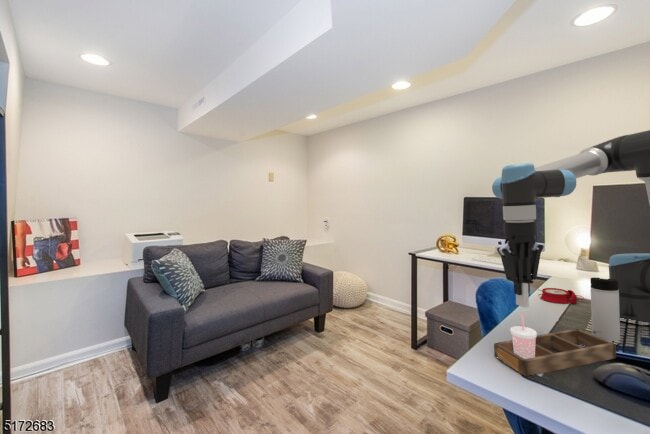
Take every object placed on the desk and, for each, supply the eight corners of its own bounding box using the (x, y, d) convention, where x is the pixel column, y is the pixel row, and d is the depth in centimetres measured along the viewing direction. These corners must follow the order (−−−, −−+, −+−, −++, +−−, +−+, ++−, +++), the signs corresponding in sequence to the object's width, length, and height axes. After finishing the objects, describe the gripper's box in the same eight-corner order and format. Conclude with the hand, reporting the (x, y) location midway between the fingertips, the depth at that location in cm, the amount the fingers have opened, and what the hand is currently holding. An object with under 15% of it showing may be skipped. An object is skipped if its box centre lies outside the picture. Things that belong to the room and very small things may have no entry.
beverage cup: (512, 354, 86) (510, 307, 85) (538, 359, 82) (536, 311, 81) (510, 364, 81) (508, 315, 80) (538, 370, 77) (536, 318, 76)
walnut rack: (576, 341, 91) (576, 328, 91) (616, 358, 80) (615, 344, 80) (493, 356, 85) (492, 343, 85) (523, 377, 75) (523, 362, 75)
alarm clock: (536, 287, 133) (577, 282, 126) (540, 300, 133) (582, 296, 125) (538, 293, 125) (583, 289, 117) (543, 308, 124) (588, 304, 116)
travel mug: (592, 342, 89) (590, 278, 88) (592, 334, 94) (590, 273, 93) (621, 348, 85) (619, 281, 84) (619, 339, 90) (617, 276, 89)
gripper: (527, 218, 84) (530, 298, 85) (488, 222, 82) (491, 304, 83) (552, 219, 77) (555, 307, 78) (509, 223, 75) (513, 313, 76)
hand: (522, 305), depth 81 cm, fingers closed
